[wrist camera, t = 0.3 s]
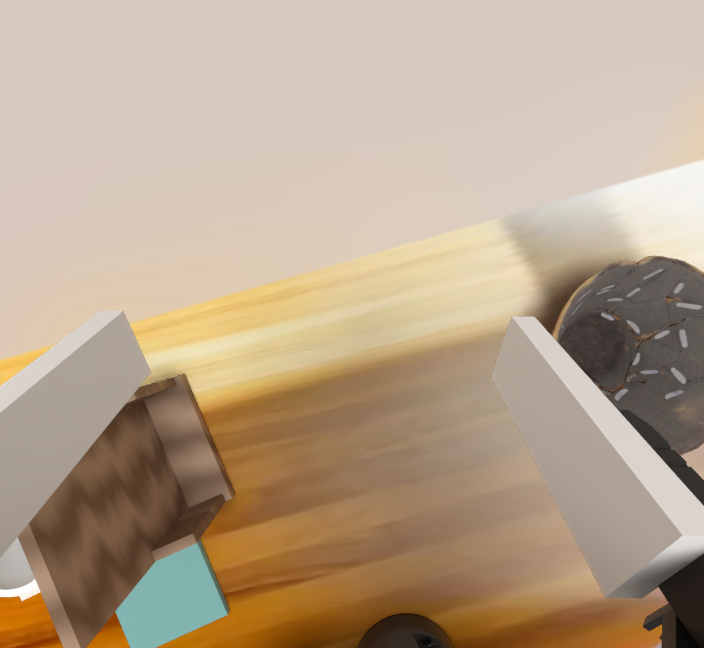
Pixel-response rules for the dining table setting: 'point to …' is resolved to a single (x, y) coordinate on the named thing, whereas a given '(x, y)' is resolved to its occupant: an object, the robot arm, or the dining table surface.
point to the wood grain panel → (125, 508)
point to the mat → (172, 599)
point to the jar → (15, 572)
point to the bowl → (649, 356)
